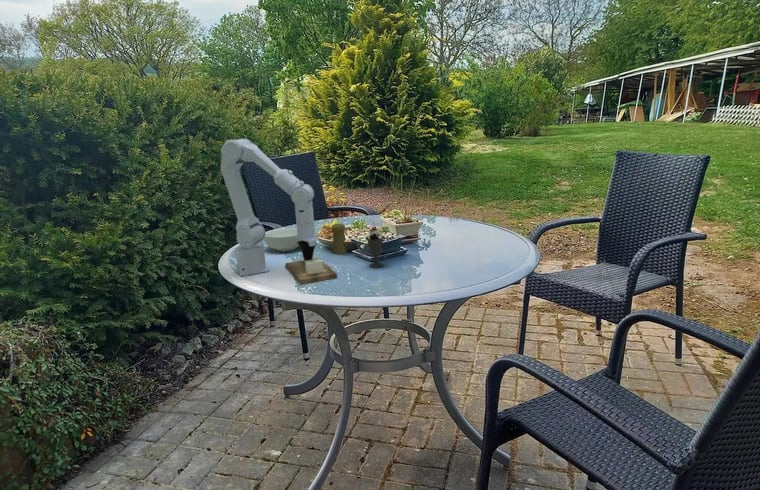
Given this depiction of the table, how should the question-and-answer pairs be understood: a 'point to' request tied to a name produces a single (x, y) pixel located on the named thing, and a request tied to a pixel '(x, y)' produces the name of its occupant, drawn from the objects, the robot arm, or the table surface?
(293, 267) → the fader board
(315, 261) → the cream block
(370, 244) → the sundae
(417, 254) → the table surface
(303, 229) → the robot arm
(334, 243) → the olive brown pepper mill
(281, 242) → the cereal bowl
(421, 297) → the table surface
